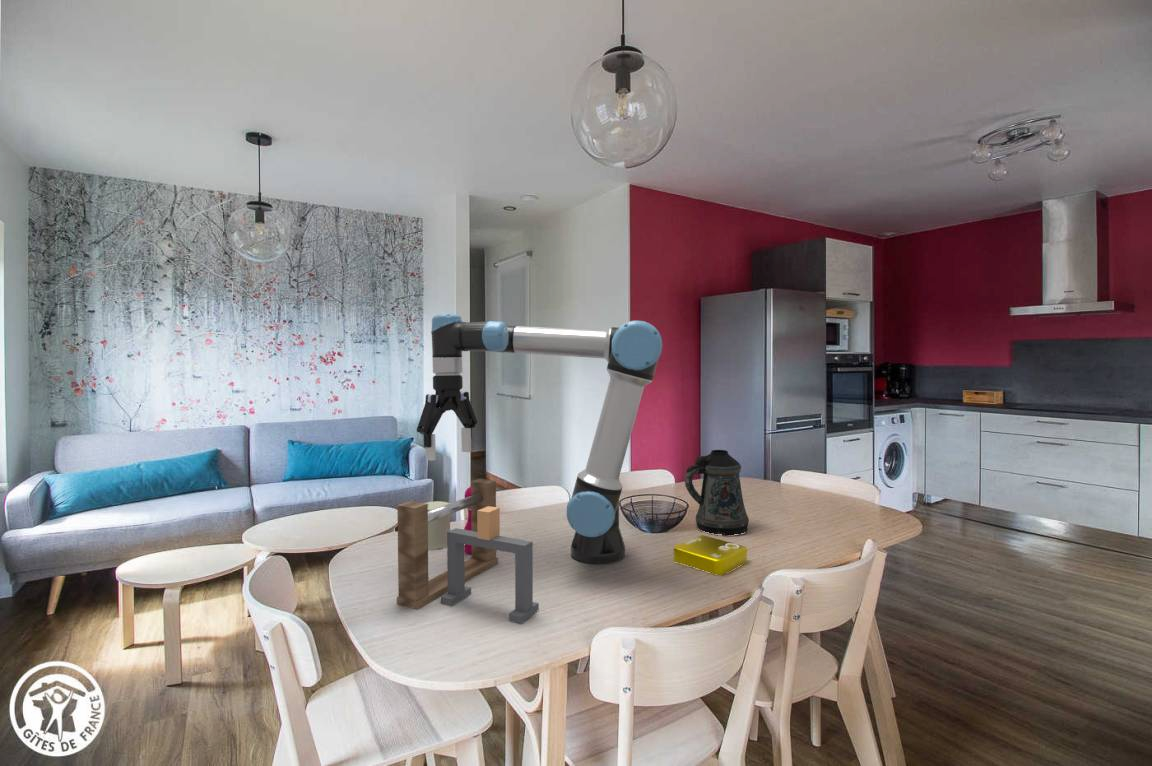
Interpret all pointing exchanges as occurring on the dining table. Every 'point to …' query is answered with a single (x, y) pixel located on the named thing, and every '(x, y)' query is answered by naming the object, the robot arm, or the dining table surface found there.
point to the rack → (415, 545)
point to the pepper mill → (468, 522)
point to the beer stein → (718, 494)
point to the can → (438, 528)
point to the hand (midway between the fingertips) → (449, 455)
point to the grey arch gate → (490, 539)
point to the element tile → (710, 554)
